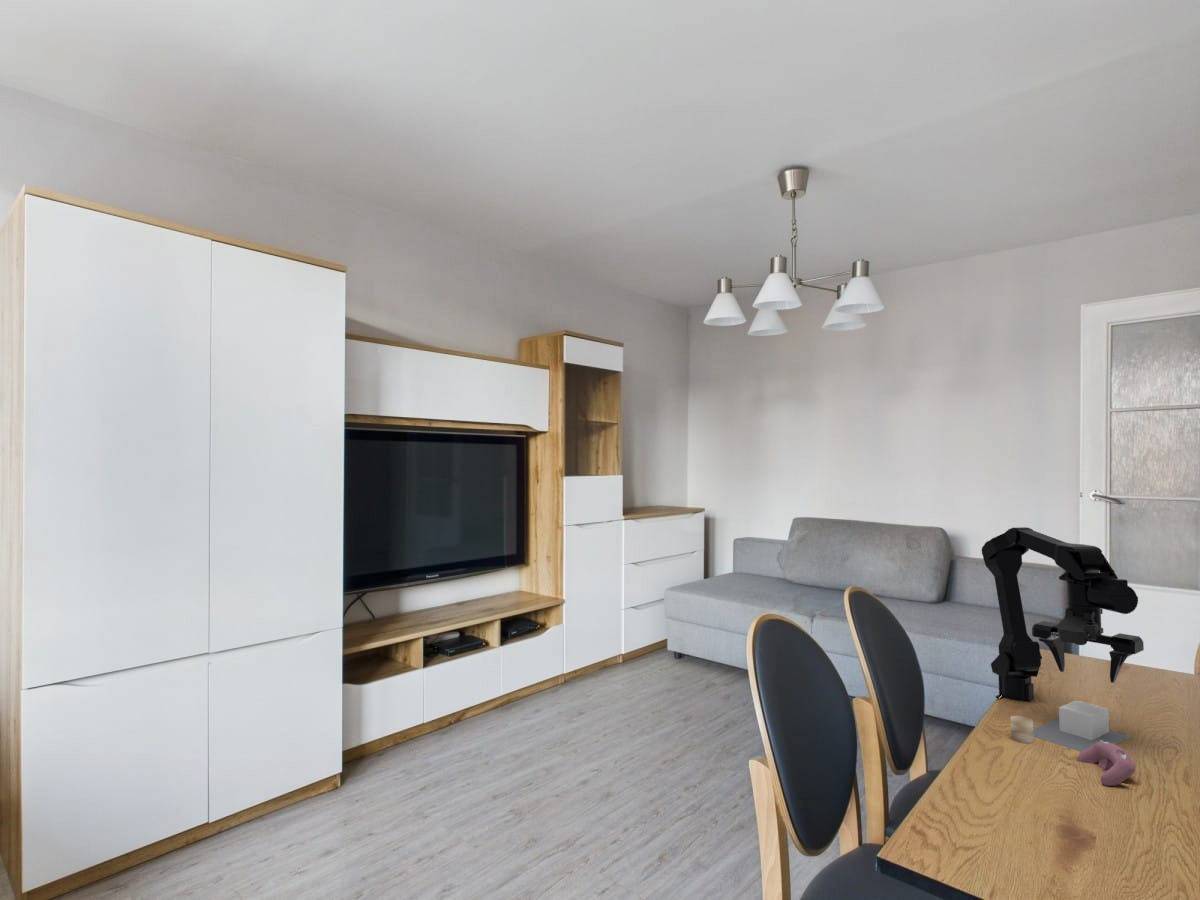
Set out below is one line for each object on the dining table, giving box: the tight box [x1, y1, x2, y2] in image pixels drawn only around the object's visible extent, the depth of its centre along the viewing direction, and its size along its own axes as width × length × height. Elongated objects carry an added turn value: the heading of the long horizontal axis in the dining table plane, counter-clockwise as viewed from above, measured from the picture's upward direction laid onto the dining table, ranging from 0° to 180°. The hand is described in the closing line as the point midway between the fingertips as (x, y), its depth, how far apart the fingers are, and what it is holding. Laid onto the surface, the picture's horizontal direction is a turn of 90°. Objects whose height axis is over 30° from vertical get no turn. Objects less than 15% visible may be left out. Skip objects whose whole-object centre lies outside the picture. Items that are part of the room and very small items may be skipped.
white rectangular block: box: [1058, 700, 1110, 740], centre depth 139 cm, size 6×8×5 cm
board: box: [1033, 717, 1132, 753], centre depth 137 cm, size 13×17×1 cm
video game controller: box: [1076, 740, 1136, 787], centre depth 121 cm, size 10×5×7 cm, turn 168°
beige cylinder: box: [1010, 715, 1035, 744], centre depth 135 cm, size 4×4×5 cm
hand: (1086, 676), depth 139 cm, fingers open, 9 cm apart
